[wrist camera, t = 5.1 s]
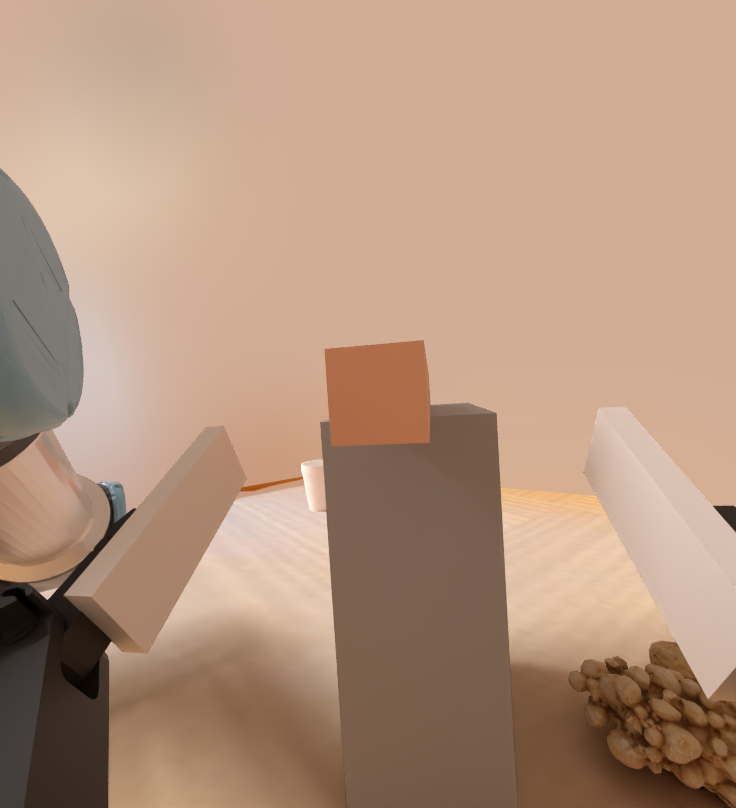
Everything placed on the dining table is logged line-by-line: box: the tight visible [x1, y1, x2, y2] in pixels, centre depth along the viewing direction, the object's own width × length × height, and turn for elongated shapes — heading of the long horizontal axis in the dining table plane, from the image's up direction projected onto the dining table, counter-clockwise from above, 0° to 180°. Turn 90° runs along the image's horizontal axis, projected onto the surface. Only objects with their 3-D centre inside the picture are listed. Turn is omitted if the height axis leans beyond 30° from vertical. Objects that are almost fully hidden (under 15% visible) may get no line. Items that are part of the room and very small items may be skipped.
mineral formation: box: [569, 641, 736, 808], centre depth 30 cm, size 8×13×15 cm
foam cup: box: [301, 460, 326, 511], centre depth 102 cm, size 10×9×13 cm
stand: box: [320, 403, 518, 808], centre depth 34 cm, size 18×12×30 cm, turn 170°
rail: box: [325, 341, 430, 446], centre depth 26 cm, size 28×4×4 cm, turn 170°
